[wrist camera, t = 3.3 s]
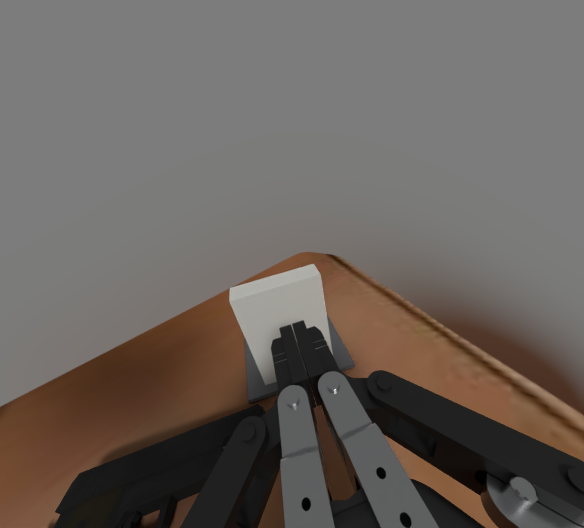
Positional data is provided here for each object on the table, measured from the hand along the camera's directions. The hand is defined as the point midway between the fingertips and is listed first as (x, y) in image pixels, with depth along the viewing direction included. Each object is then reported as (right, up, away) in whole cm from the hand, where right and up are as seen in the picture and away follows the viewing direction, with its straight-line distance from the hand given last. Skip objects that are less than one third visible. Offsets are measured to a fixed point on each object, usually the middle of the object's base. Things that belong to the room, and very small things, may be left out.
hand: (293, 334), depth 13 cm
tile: (+1, -8, +12) cm, 15 cm away
